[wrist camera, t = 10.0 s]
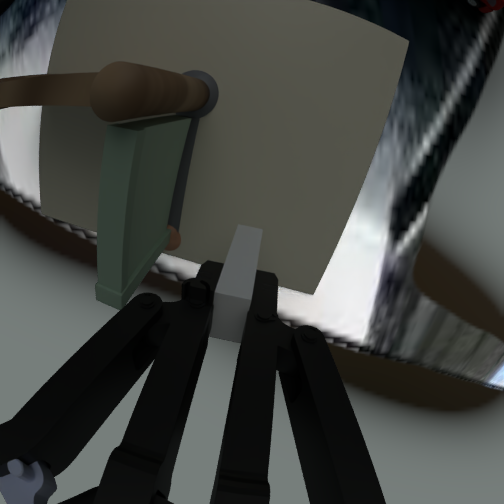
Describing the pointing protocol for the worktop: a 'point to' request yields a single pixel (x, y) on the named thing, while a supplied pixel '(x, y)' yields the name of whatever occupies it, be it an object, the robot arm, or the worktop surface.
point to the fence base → (110, 91)
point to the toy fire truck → (486, 5)
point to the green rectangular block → (135, 201)
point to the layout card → (235, 121)
